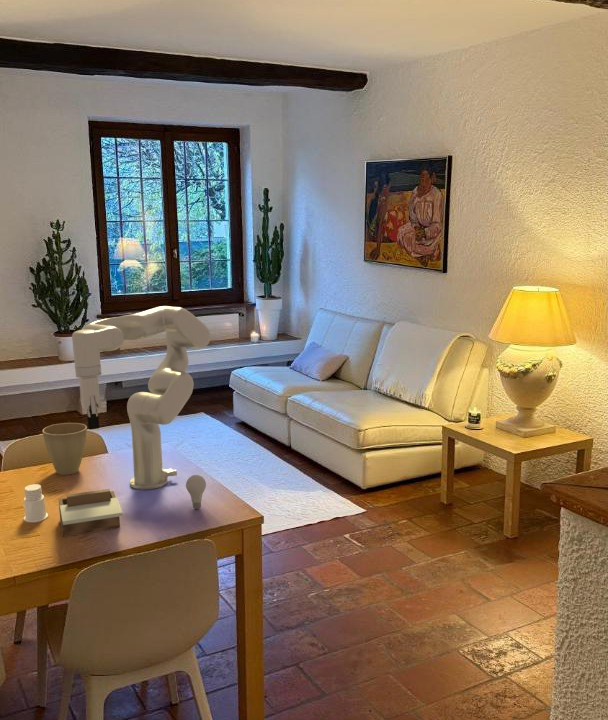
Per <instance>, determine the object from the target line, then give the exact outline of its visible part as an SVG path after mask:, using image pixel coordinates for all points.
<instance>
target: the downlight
mask: <svg viewBox="0 0 608 720" xmlns="http://www.w3.org/2000/svg"><path fill="white" fill-rule="evenodd" d="M24 494H25V495H24V496H25V497H24V498H23V505H24V515H25V516H23V521H25V522H26V523H39V522H42V521H44V520H46V519H48V517H49V513H48V512H46V503H45V502H46V501H45V495H44V494H42V485H41V484H39V483H33V484H29V485H27V486H25V487H24Z"/></svg>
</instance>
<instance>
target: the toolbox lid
mask: <svg viewBox="0 0 608 720" xmlns="http://www.w3.org/2000/svg"><path fill="white" fill-rule="evenodd" d="M110 491H111V489H110V488H104V489H98V490H97V489H96V490H91V491H90V490H89V491H84V492H76V493H69V494H66V498H67V505H60V510H61V516H62V522H63V525H66V524H73V523H80V522H86V521H93V520H99V519H106V518H112V517H119V516H120V517H123V516H124V515H123V514H124V513H123V510H122V506H121V505H120V502H119V499H118V497H116V498H111V495H110Z"/></svg>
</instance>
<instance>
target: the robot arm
mask: <svg viewBox="0 0 608 720" xmlns="http://www.w3.org/2000/svg"><path fill="white" fill-rule="evenodd" d="M164 332H165V341H166V355H165V356H164V358H163V360H162V361H161V363H159V365H158V366H157V368H156V369H155V370H154V372H153V373H152V374H151V376H150V378H149V379H148V382H147V387H148V390H149V392H146V391H139V392H135V393H133V394H132V395H130V397H129V398H128V401H127V403H126V410H127V411H126V412H127V416H128V418H129V423H130V424H129V425H130V428H131V442H132V443H131V444H132V461H133V463H132V464H133V476H134V477H132V478H131V479H130V480H129V486H130V487H131V488H133V489H137V490H145V491H146V490H154V489H159V488H161V487H163V486H165V485H167V484H168V482H169V479H168V477H175V476H178V472H177V469H172V468H168V469H165V468H164V467H163V450H162V433H161V428H160V426H159V425H163V426H164V425H169V424H171V423H172V422H173V421H174V420H175V419H176V418H177V416H178V415H179V413H180V412H181V411H182V409H183V408H184V406H185V405H186V403H187V402H188V401H189V399H190V398H191V395H192V394H193V390H194V385H195V384H194V379H193V377H192V376H191V375H190V373H188V372H186V371H187V369H188V367H189V364H190V363H189V357H188V352H187V351H188V350H187V349H193V350H194V349H197V350H200V349H205V348H206V347H207V346H208V345H210V342H211V332H210V330H209V328H208V327H207V325H206V324H205V323H203V322H202V321H201V320H200V319H199V318H198V317H196V316H195V315H194V314H193V313H192V312H191V311H189V310H187V309H185V308H183V307H181V306H169V305H162V306H156V307H153V308H150V309H147V310H146V309H145V310H143V311H141V312H137V313H133V314H127V315H121V316H115V317H109V318H104V319H100V320H96V321H93V322H91V323H88V324H86V325H85V326H84V327H83V328H82V329H79V330H76V331H74V332H73V333H72V334H71V338H72V339H71V342H72V351H73V361H74V362H73V363H74V369H75V372H74V373H75V377H76V378H78V379H79V394H80V403H81V404H80V405H81V406H82V410H84V411H86V412H87V414H86V415H87V416H86V417H87V420H86V421H87V429H88V430H89V431H90V430H96V429H97V430H99V429H100V420H99V419H100V418H99V411H98V409H100V407H101V399H100V396H101V394H100V386H99V385H100V384H99V377H100V376H102V366H101V355H100V354H101V352H111V351H112V352H113V351H116V350H118V349H119V348H121V346H122V345H123V344H124V341H136V340H137V341H138V340H143V339H146V338H147V339H148V338H150V337H152V336H156V335H159V334H162V333H164Z"/></svg>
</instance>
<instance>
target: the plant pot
mask: <svg viewBox="0 0 608 720" xmlns="http://www.w3.org/2000/svg"><path fill="white" fill-rule="evenodd" d="M87 429H88V425H87V424H84V423H79V422H64V423H63V422H62V423H56V424H51V425H48V426H46V427H44V428H43V429H42V435H43V439H44V443H45V447H46V450H47V453H48V455H49V459H50V461H51V464H52V466H53V468H54V470H55V472H56V474H58V475H60V476H67V475H69V476H70V475H73V474H76V473H78V472H79V470H80V467H81V463H82V460H83V457H84V452H85V446H86V440H87V433H88V432H87V431H88V430H87Z"/></svg>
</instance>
